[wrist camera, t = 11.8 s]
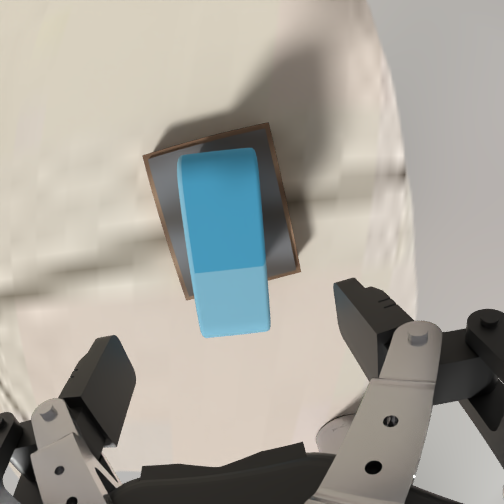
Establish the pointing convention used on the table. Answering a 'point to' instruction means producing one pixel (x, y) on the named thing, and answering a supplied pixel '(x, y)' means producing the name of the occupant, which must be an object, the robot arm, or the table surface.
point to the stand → (272, 198)
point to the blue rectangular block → (225, 240)
